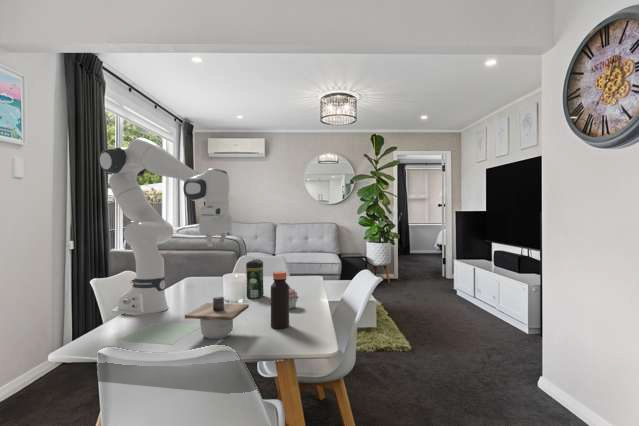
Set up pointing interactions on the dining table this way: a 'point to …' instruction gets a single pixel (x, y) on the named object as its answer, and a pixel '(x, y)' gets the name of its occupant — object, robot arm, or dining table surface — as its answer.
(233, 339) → the dining table surface
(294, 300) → the cupcake
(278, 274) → the bottle
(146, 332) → the mat
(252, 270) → the coffee jar
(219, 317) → the lid
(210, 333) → the teacup
